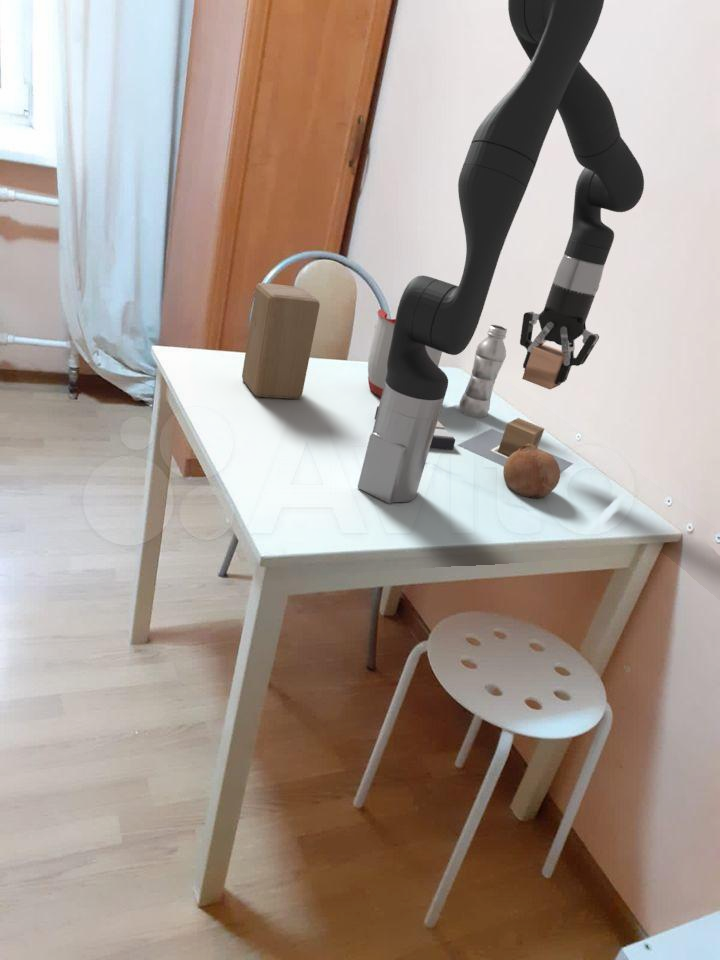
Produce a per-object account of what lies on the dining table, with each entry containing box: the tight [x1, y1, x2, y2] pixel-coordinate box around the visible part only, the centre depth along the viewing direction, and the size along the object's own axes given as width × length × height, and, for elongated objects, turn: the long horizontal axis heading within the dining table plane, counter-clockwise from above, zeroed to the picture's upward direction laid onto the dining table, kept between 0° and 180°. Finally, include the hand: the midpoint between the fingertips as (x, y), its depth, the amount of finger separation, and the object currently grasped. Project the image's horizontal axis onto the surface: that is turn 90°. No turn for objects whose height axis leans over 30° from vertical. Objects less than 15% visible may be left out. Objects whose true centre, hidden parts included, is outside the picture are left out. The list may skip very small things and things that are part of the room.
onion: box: [502, 443, 561, 500], centre depth 123 cm, size 10×9×10 cm
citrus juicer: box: [367, 308, 443, 398], centre depth 154 cm, size 16×17×20 cm
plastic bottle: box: [458, 324, 508, 419], centre depth 151 cm, size 6×7×20 cm
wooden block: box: [241, 282, 321, 400], centre depth 139 cm, size 10×10×20 cm
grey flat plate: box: [457, 428, 574, 474], centre depth 138 cm, size 16×18×1 cm
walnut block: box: [498, 417, 545, 457], centre depth 137 cm, size 6×6×6 cm
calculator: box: [374, 405, 456, 451], centre depth 137 cm, size 11×4×15 cm
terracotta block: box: [521, 343, 564, 390], centre depth 130 cm, size 6×6×6 cm
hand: (542, 377), depth 131 cm, fingers closed on terracotta block, 5 cm apart
